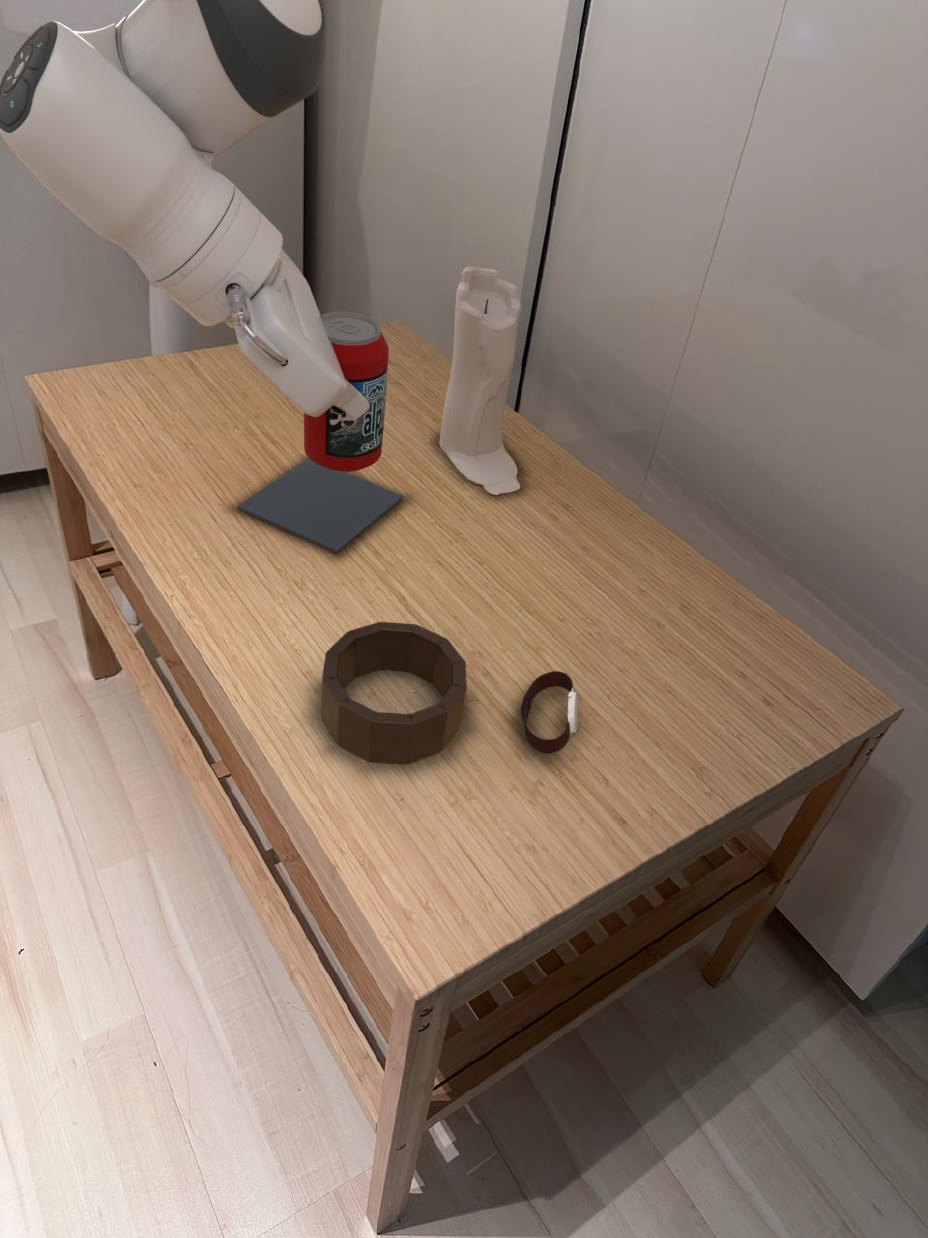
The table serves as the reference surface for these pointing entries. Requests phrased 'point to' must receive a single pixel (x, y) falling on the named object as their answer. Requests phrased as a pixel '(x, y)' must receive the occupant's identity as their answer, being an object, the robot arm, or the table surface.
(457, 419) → the candle
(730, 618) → the table surface
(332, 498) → the mat
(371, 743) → the faceted ring
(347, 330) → the beverage can
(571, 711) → the watch
